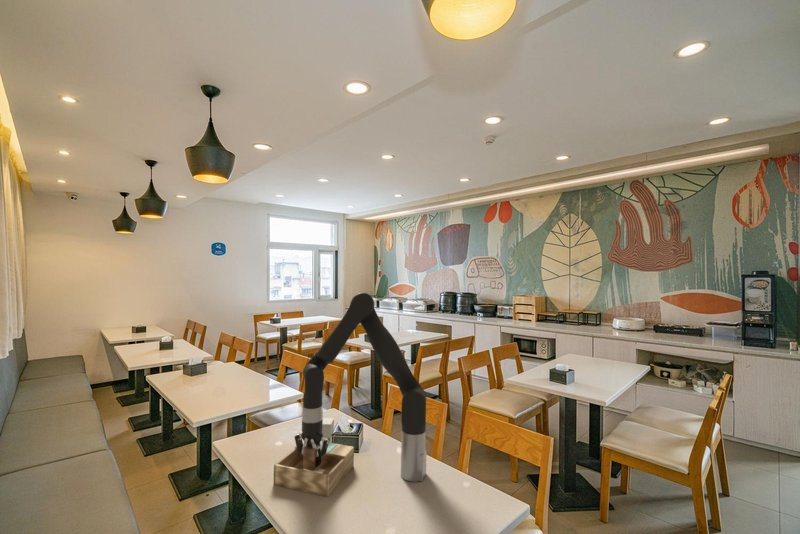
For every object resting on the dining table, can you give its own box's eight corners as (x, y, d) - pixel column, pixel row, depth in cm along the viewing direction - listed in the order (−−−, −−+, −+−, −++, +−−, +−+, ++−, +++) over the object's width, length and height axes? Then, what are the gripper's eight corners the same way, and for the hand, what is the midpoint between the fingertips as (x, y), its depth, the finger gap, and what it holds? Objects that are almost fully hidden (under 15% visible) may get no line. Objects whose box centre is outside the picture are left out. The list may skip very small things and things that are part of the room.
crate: (353, 466, 143) (354, 446, 143) (327, 497, 123) (328, 473, 123) (305, 457, 150) (306, 437, 150) (273, 484, 130) (274, 462, 130)
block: (319, 464, 135) (320, 444, 135) (313, 470, 130) (314, 449, 131) (309, 462, 136) (309, 442, 136) (302, 468, 132) (303, 448, 132)
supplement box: (330, 454, 152) (331, 424, 153) (312, 454, 153) (313, 424, 153) (333, 446, 160) (334, 417, 160) (317, 445, 160) (318, 417, 160)
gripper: (334, 416, 135) (333, 462, 135) (301, 412, 139) (300, 456, 139) (324, 424, 128) (323, 473, 127) (289, 419, 132) (288, 466, 132)
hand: (311, 464), depth 133 cm, fingers closed on block, 4 cm apart
